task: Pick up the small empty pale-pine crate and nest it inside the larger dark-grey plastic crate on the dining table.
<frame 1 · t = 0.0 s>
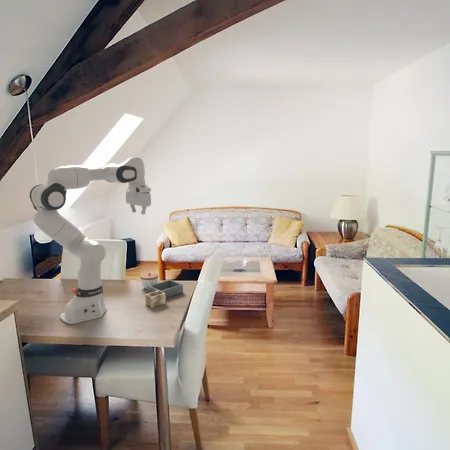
hand: (138, 213, 217), 48 cm above the table, fingers open, 8 cm apart
grey crate: (165, 293, 231), on the table
lidded jar: (150, 287, 241), on the table
pine crate: (155, 304, 216), on the table
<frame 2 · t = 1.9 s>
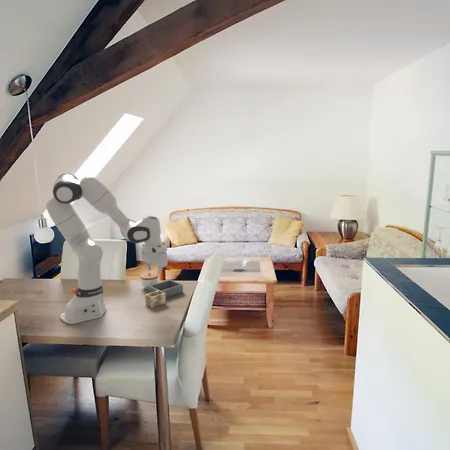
hand: (154, 271, 212), 18 cm above the table, fingers open, 8 cm apart
nothing on the table moved.
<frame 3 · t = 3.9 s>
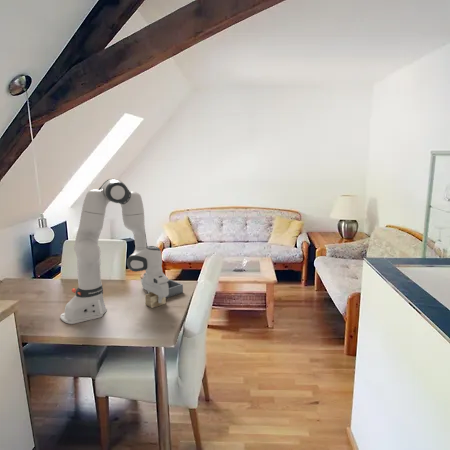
hand: (155, 300, 215), 2 cm above the table, fingers closed on pine crate, 6 cm apart
pine crate: (155, 304, 216), on the table, touching gripper
everything else where it was.
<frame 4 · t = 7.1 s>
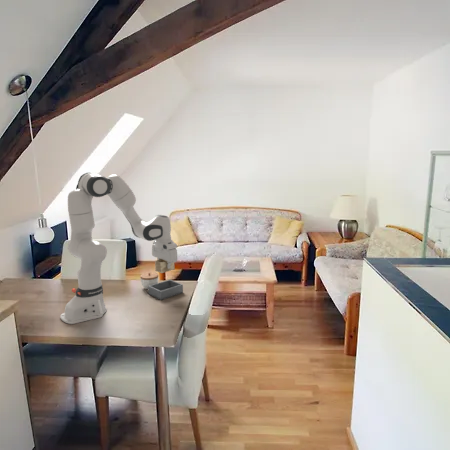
hand: (164, 266, 227), 16 cm above the table, fingers closed on pine crate, 6 cm apart
pine crate: (165, 270, 228), point 14 cm above the table, touching gripper
everything else where it was.
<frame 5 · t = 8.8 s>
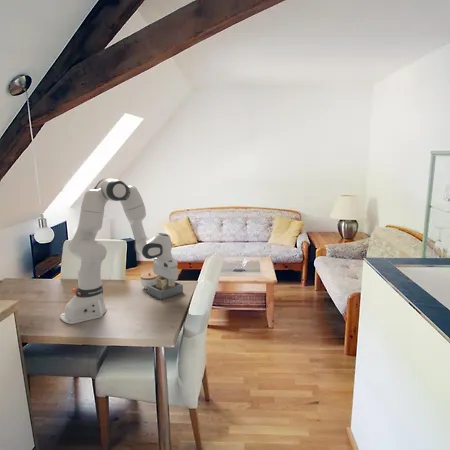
hand: (165, 284, 230), 6 cm above the table, fingers closed on pine crate, 6 cm apart
pine crate: (165, 287, 230), point 4 cm above the table, touching gripper
everything else where it was.
when the fingers open (5 cm above the table, at t = 9.9 s): pine crate drops 2 cm, resting on grey crate.
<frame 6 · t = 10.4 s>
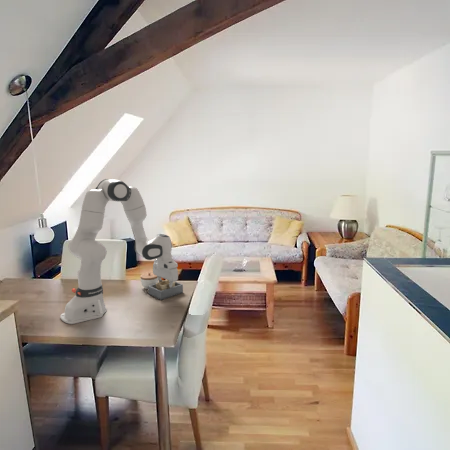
hand: (165, 285, 230), 5 cm above the table, fingers open, 8 cm apart
pine crate: (165, 292, 230), point 1 cm above the table, touching grey crate
everything else where it was.
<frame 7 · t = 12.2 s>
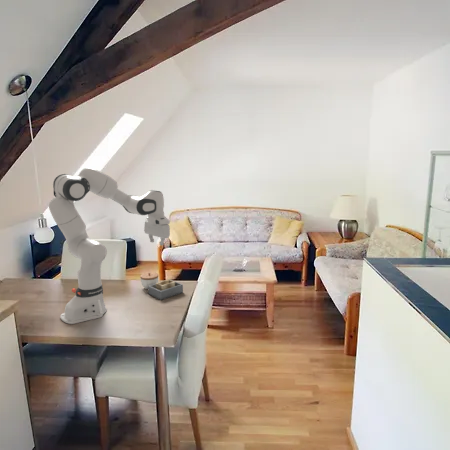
hand: (156, 243, 223), 30 cm above the table, fingers open, 8 cm apart
nothing on the table moved.
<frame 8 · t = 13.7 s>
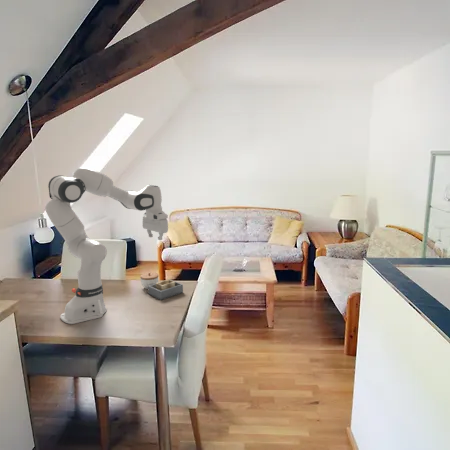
hand: (155, 238, 223), 33 cm above the table, fingers open, 8 cm apart
nothing on the table moved.
at the end: pine crate 0.1 cm off-centre on the grey crate, point 0.7 cm above the grey crate's base; pine crate tilted 0°; the gripper is holding nothing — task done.
